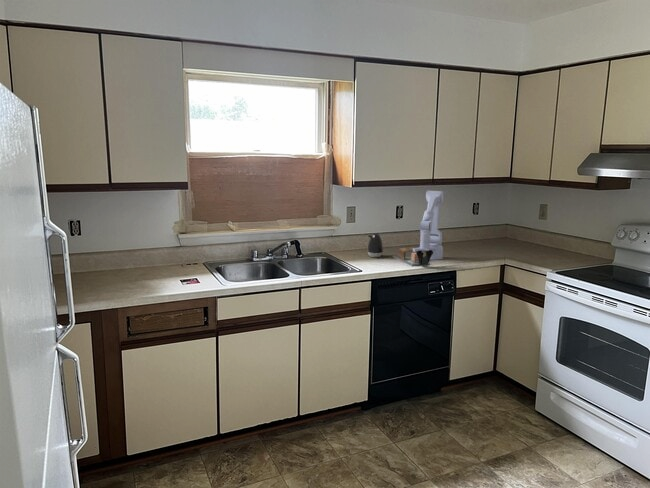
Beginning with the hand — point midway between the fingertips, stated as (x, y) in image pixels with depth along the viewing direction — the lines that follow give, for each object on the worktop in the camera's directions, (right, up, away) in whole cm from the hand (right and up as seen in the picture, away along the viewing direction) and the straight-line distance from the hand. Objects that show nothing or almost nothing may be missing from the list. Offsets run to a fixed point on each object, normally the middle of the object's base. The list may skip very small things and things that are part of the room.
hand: (423, 263), depth 293 cm
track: (-5, +1, +15) cm, 16 cm away
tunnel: (-6, +1, +17) cm, 18 cm away
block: (-3, +2, +9) cm, 10 cm away
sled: (-2, 0, +6) cm, 6 cm away
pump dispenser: (-27, +3, +25) cm, 36 cm away
